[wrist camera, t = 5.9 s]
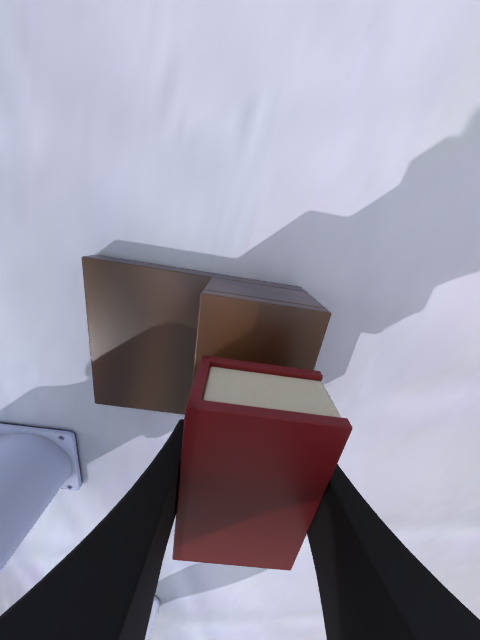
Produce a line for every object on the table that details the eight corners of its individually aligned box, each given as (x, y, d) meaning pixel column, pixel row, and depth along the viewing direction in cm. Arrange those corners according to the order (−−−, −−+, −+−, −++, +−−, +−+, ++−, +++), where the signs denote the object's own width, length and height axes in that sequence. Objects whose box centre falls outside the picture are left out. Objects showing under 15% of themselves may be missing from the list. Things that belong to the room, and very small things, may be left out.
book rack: (104, 392, 20) (51, 453, 14) (95, 254, 16) (14, 264, 10) (269, 412, 21) (279, 478, 15) (301, 286, 17) (332, 313, 11)
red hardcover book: (188, 484, 12) (172, 560, 9) (202, 354, 9) (185, 406, 6) (279, 494, 12) (290, 571, 9) (320, 370, 9) (353, 428, 7)
